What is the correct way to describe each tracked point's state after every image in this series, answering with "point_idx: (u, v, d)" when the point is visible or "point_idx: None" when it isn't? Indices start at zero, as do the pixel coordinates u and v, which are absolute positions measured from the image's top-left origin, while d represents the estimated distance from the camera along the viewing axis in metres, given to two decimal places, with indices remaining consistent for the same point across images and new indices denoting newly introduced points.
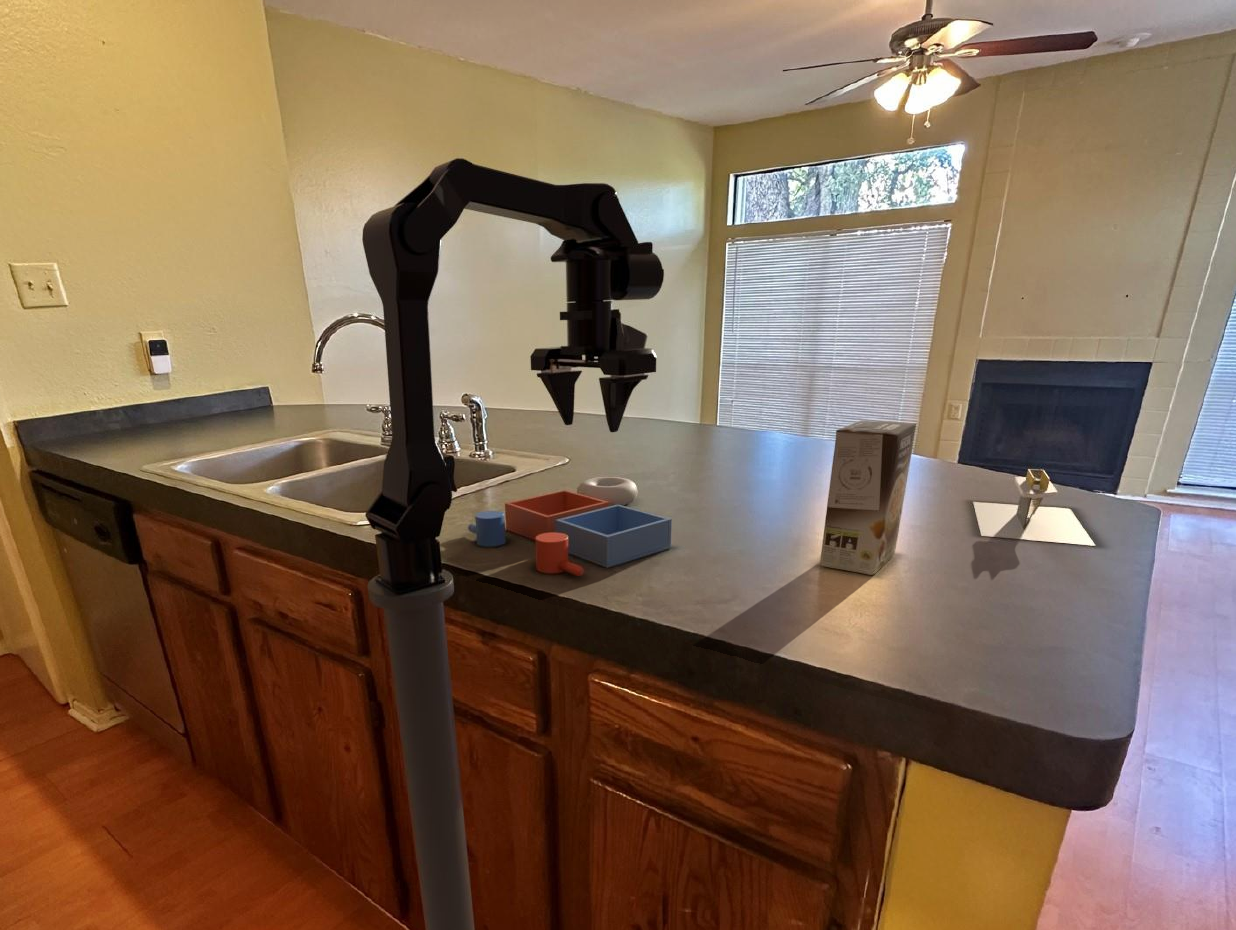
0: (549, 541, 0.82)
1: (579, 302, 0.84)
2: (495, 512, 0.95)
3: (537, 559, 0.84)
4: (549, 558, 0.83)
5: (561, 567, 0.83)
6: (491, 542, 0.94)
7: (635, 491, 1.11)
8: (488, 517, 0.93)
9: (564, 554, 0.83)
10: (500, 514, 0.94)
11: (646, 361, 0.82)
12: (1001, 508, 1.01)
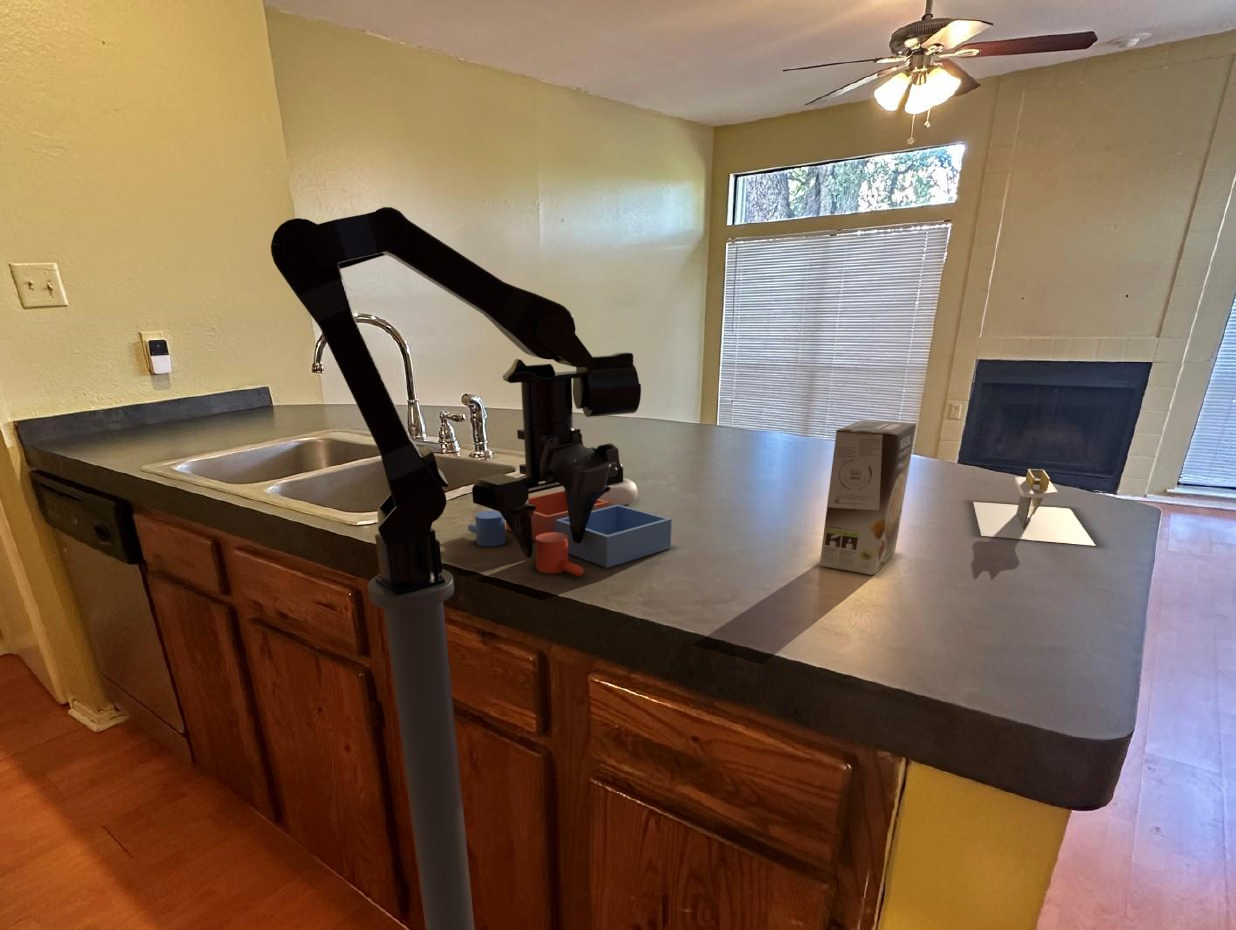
0: (549, 541, 0.82)
1: None
2: (495, 512, 0.95)
3: (537, 559, 0.84)
4: (549, 558, 0.83)
5: (561, 567, 0.83)
6: (491, 542, 0.94)
7: (635, 491, 1.11)
8: (488, 517, 0.93)
9: (564, 554, 0.83)
10: (500, 514, 0.94)
11: (488, 496, 0.76)
12: (1001, 508, 1.01)
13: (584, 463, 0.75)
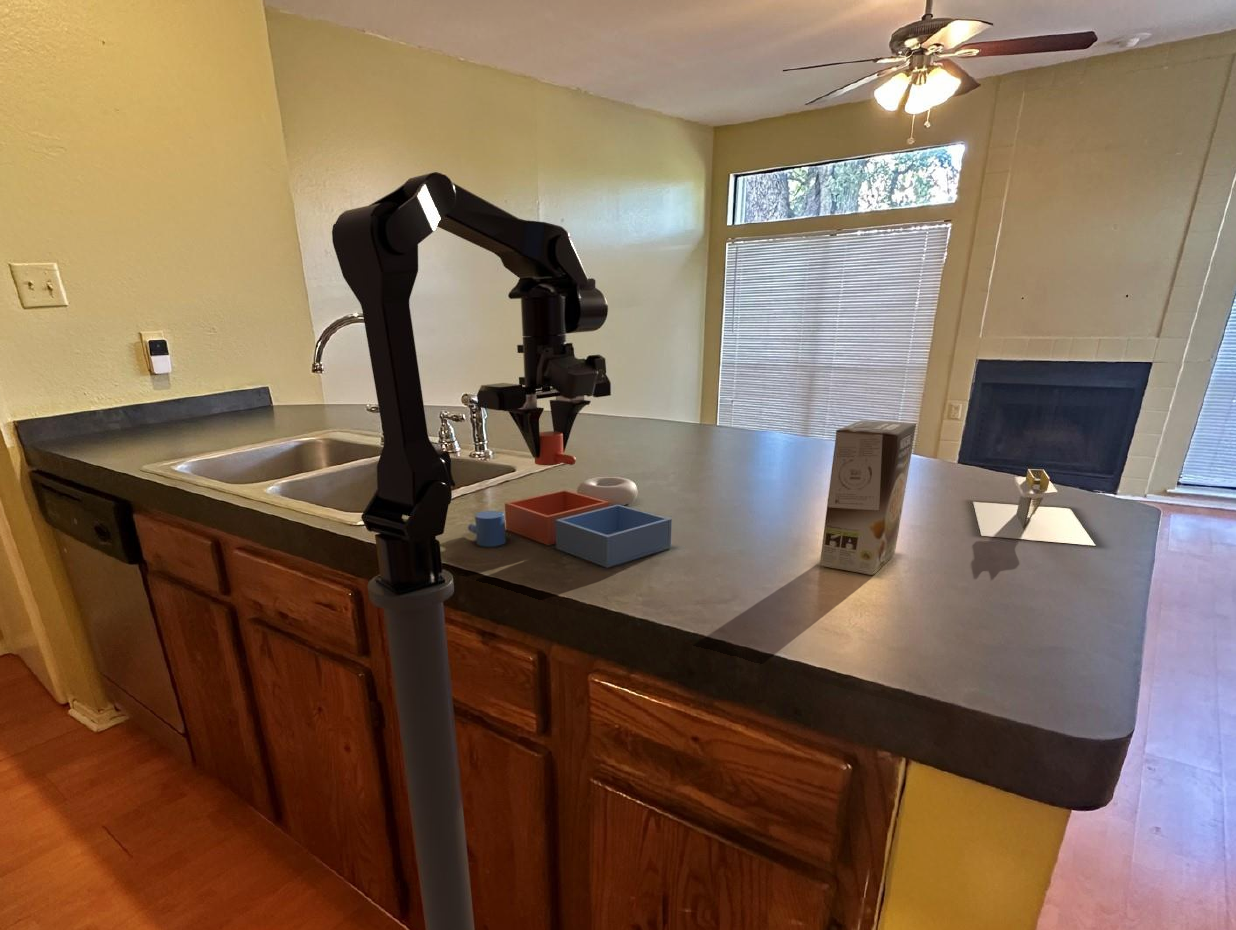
0: (546, 435, 0.93)
1: None
2: (495, 512, 0.95)
3: None
4: (546, 451, 0.94)
5: (557, 458, 0.93)
6: (491, 542, 0.94)
7: (635, 491, 1.11)
8: (488, 517, 0.93)
9: (559, 448, 0.94)
10: (500, 514, 0.94)
11: (491, 398, 0.87)
12: (1001, 508, 1.01)
13: (575, 369, 0.86)
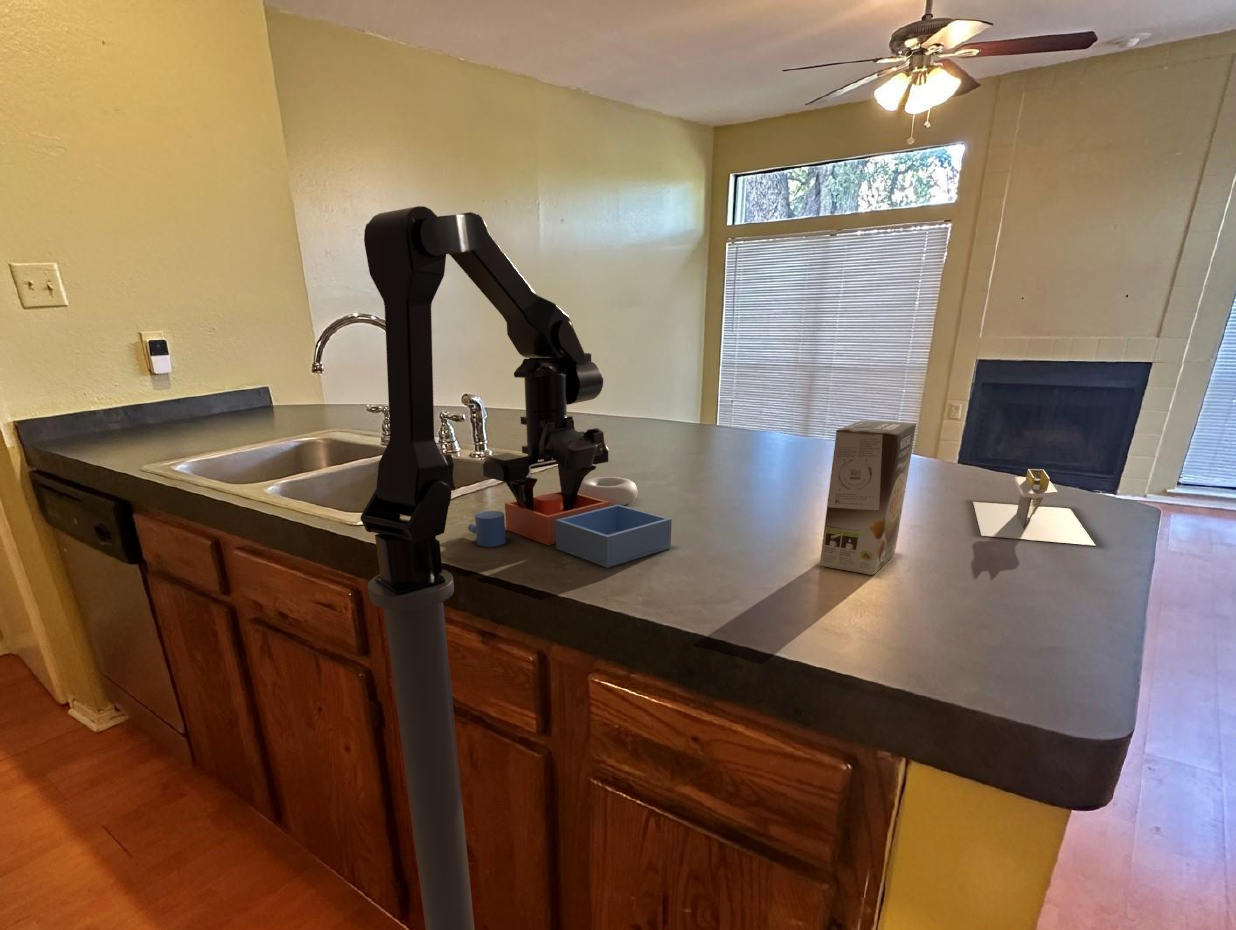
0: (547, 500, 0.99)
1: None
2: (495, 512, 0.95)
3: None
4: (547, 514, 0.99)
5: None
6: (491, 542, 0.94)
7: (635, 491, 1.11)
8: (488, 517, 0.93)
9: (560, 511, 1.00)
10: (500, 514, 0.94)
11: (496, 469, 0.93)
12: (1001, 508, 1.01)
13: (575, 443, 0.92)
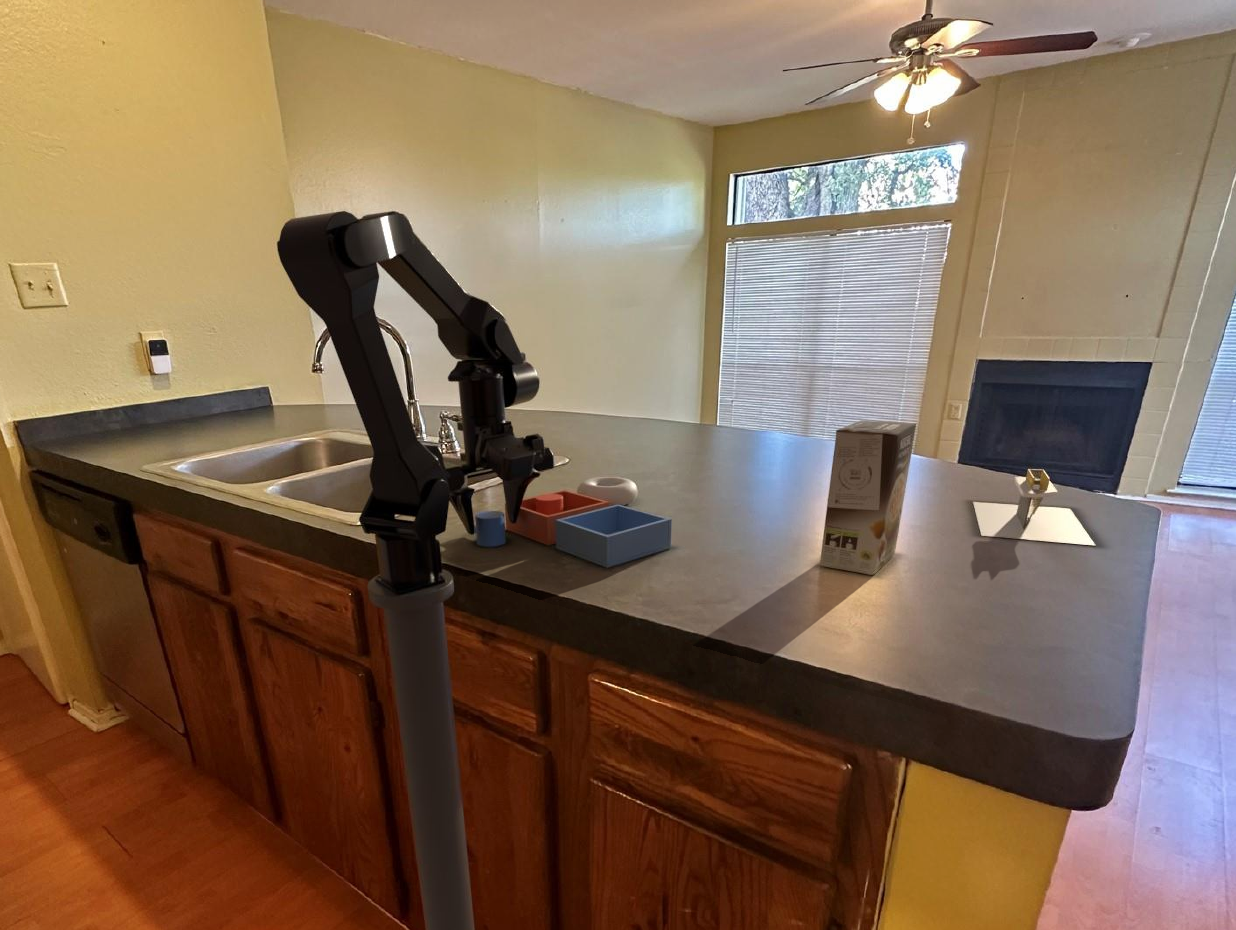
0: (547, 500, 0.99)
1: None
2: (495, 512, 0.95)
3: None
4: (547, 514, 0.99)
5: None
6: (491, 542, 0.94)
7: (635, 491, 1.11)
8: (488, 517, 0.93)
9: (560, 511, 1.00)
10: (500, 514, 0.94)
11: None
12: (1001, 508, 1.01)
13: (512, 451, 0.86)
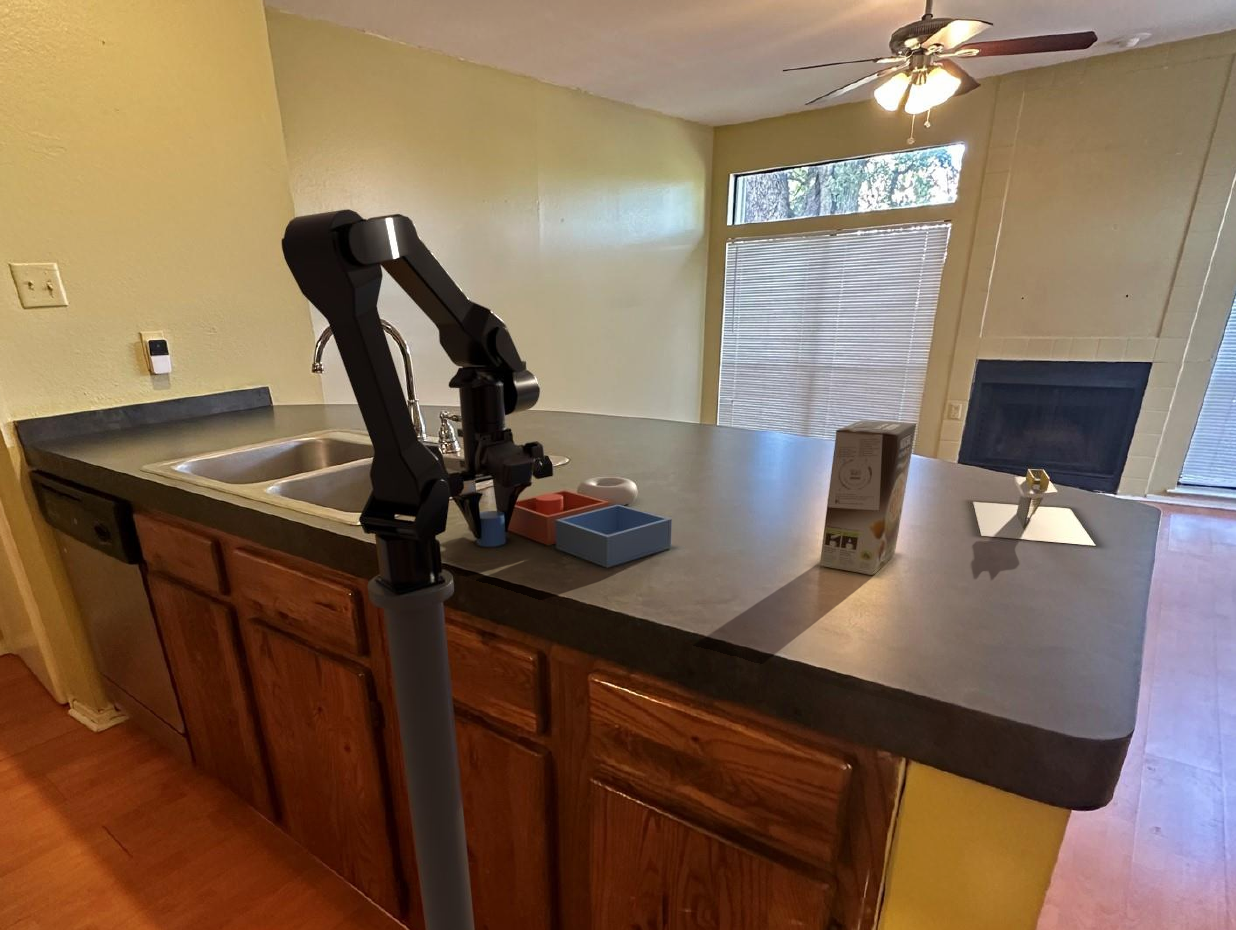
0: (547, 500, 0.99)
1: None
2: (495, 513, 0.95)
3: None
4: (547, 514, 0.99)
5: None
6: (491, 542, 0.94)
7: (635, 491, 1.11)
8: (488, 517, 0.93)
9: (560, 511, 1.00)
10: (500, 514, 0.94)
11: None
12: (1001, 508, 1.01)
13: (511, 458, 0.86)
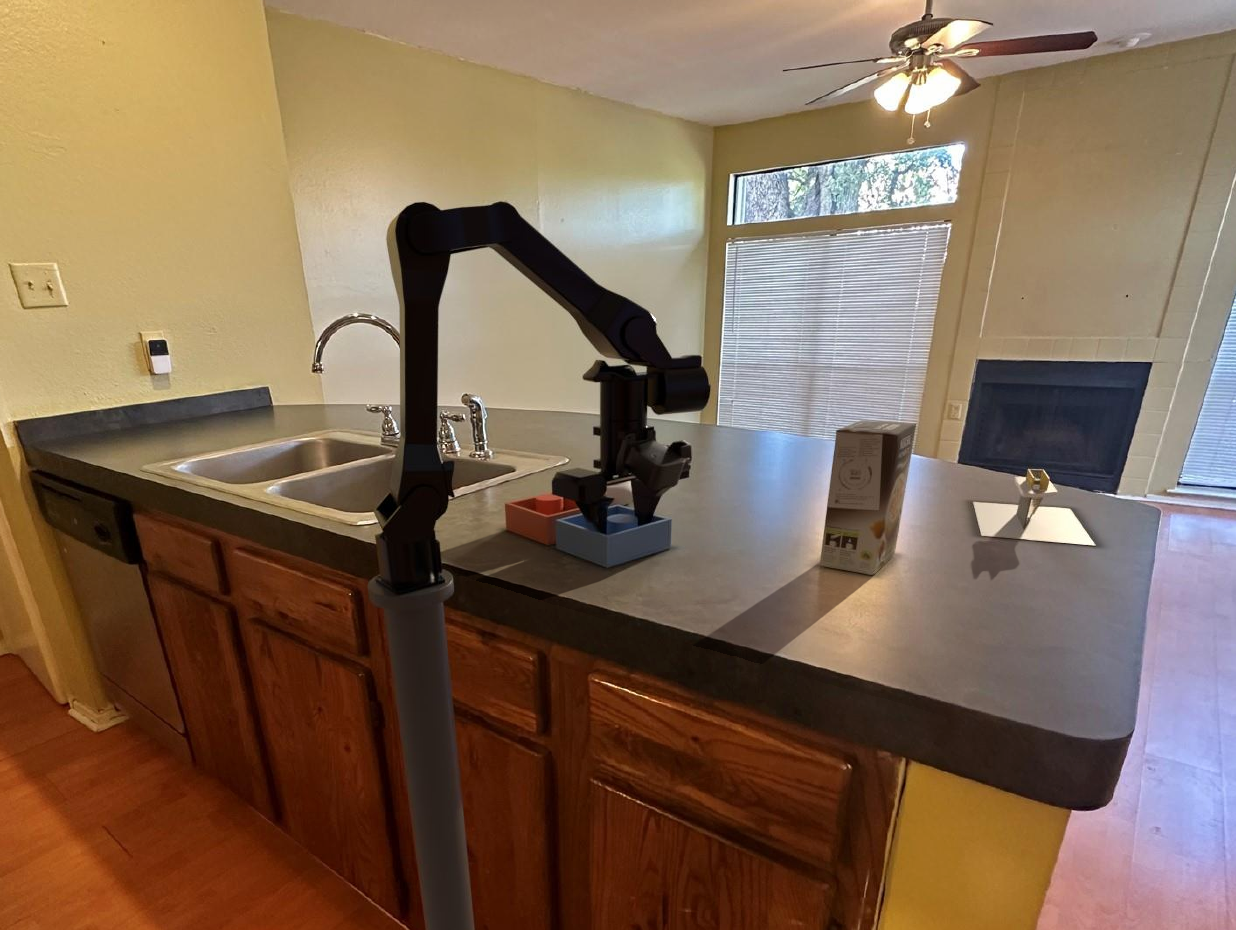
0: (547, 500, 0.99)
1: None
2: (627, 516, 0.89)
3: None
4: (547, 514, 0.99)
5: None
6: None
7: None
8: (623, 521, 0.87)
9: (560, 511, 1.00)
10: (634, 518, 0.88)
11: (569, 487, 0.81)
12: (1001, 508, 1.01)
13: (661, 458, 0.80)
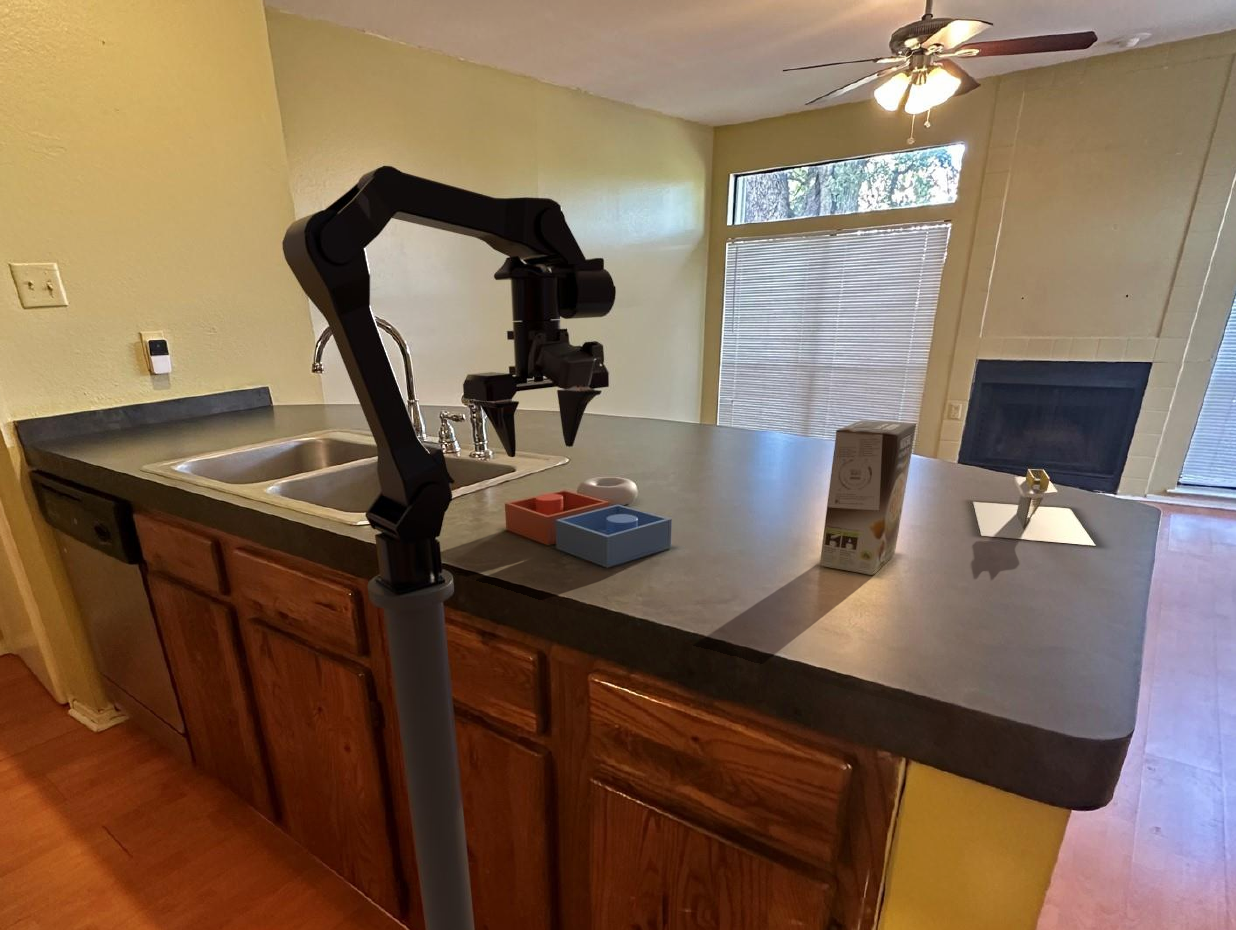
0: (547, 500, 0.99)
1: None
2: (627, 516, 0.89)
3: None
4: (547, 514, 0.99)
5: None
6: None
7: (635, 491, 1.11)
8: (623, 521, 0.87)
9: (560, 511, 1.00)
10: (634, 518, 0.88)
11: (478, 388, 0.79)
12: (1001, 508, 1.01)
13: (570, 356, 0.78)
